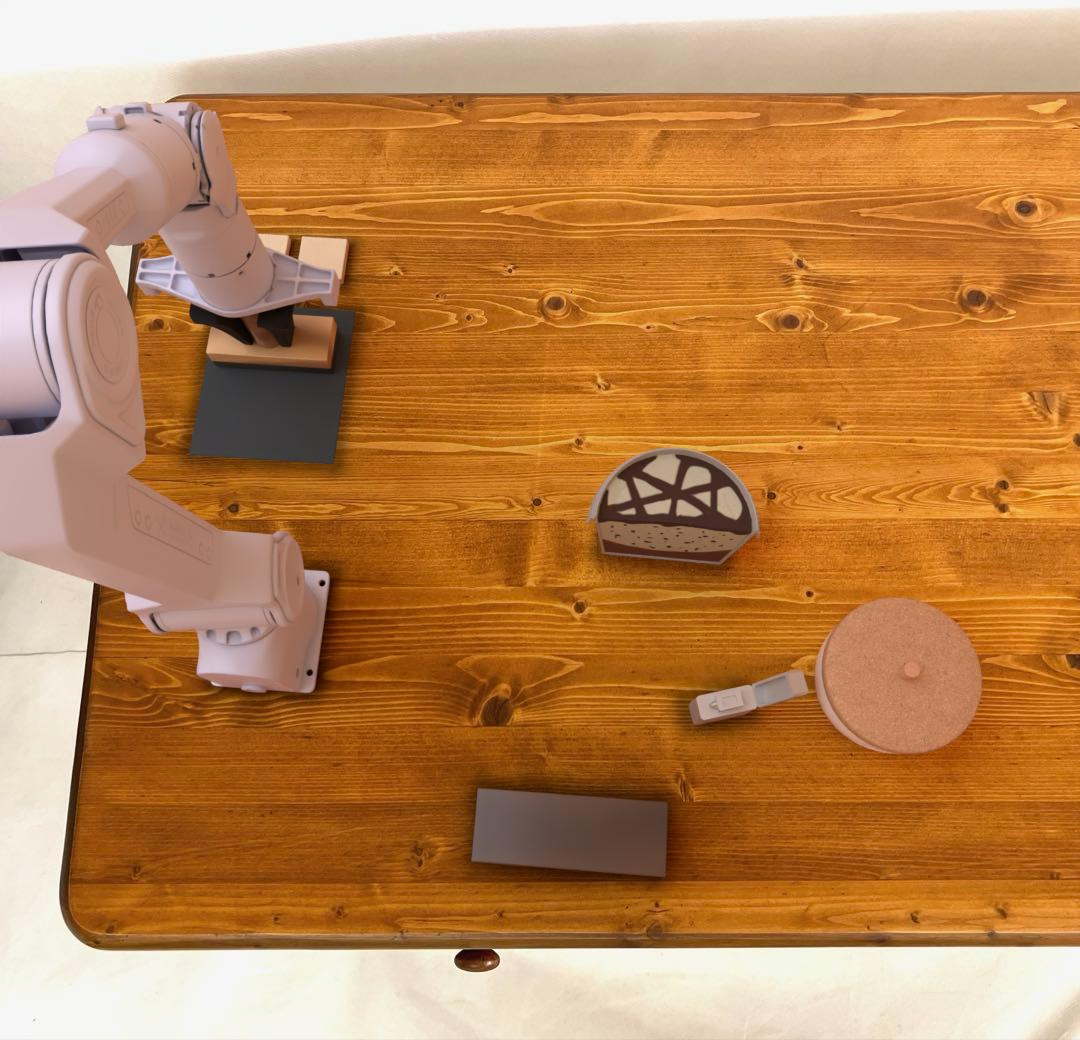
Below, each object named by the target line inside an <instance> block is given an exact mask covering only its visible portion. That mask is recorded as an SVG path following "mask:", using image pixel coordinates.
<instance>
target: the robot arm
mask: <svg viewBox="0 0 1080 1040" xmlns="http://www.w3.org/2000/svg"><path fill="white" fill-rule="evenodd" d="M85 123H86V127H87V132H85V133H83V134H81V135H79V136H77V137H75V138H74V139H72V140H71V141H70V142H68V143H67V144H66V145H65V146H64V147H63V148H62V150H61V151H60V153H59V155H58V156H57V158H56V161H55V164H54V169H53V177H52V178H49V179H47V180H45V181H42V182H40V183H37V184H35V185H32V186H29V187H28V188H25V189H23V190H20V191H18V192H16V193H12V194H11V195H8V196H6V197H3V198H1V199H0V552H2V553H3V554H4V555H5V554H6V555H7V556H9V557H13V558H15V559H19V560H22V561H25V562H28V563H31V564H34V565H37V566H41V567H44V568H47V569H50V570H53V571H56V572H60V573H62V574H66V575H69V576H72V577H75V578H78V579H81V580H84V581H87V582H91V583H94V584H97V585H99V586H104V587H106V588H110V589H113V590H117V591H119V592H122V593H124V600H125V603H126V610H127V611H128V612H129V613H133V614H135V615H138V618H139V619H140V621H141V623H143V624H144V626H145V628H147V629H148V630H149V632H150V633H152V634H155V635H165V634H167V633H169V632H183V631H184V632H185V631H195V632H196V635H197V639H198V659H197V664H196V665H197V666H196V676H197V677H199V678H201V679H203V680H207V681H209V682H210V683H211V685H213V686H214V687H221V688H234V689H235V688H236V689H241V690H242V691H245V692H249V693H250V692H251V693H261V694H262V693H263V694H264V693H267V691H274V692H289V693H290V692H291V693H301V694H302V693H304V694H310V693H312V692H314V690H315V689H316V684H317V676H318V669H319V662H320V654H321V647H322V641H323V634H324V626H325V619H326V612H327V604H328V597H329V591H330V583H331V576H330V575H331V574H330V573H329V572H328V571H325V570H316V569H305V567H304V565H305V564H304V560H303V559H304V558H303V554H302V551H301V548H300V544H299V543H298V541H297V540H296V539H295V538H294V537H293V536H292V535H291V534H290V532H288V531H286V530H277V531H276V532H274V533H263V532H261V533H260V532H248V531H236V530H224V529H220V528H218V527H216V526H215V525H213V524H211V523H210V522H209V521H207V520H205V519H203V518H201V517H200V516H199V515H196V514H195V513H193V512H191V511H190V510H188V509H186V507H183V506H182V505H180V504H179V503H176V502H175V501H173V500H171V499H170V498H168V497H167V496H165V495H163V494H161V493H160V492H158V491H156V490H155V489H153V488H151V487H150V486H148V485H147V484H145V483H144V482H142V481H140V480H138V479H137V478H135V477H134V476H132V475H130V474H128V473H129V472H130V471H132V470H134V468H136V467H137V466H139V465H140V464H141V463H143V462H144V461H145V460H146V459H147V450H146V440H145V437H146V431H147V430H146V429H147V425H146V414H145V407H144V406H145V405H144V399H143V398H144V397H143V390H142V381H141V373H140V364H139V338H138V332H137V331H138V330H137V326H136V321H135V317H134V313H133V310H132V307H131V303H130V300H129V298H128V295H127V293H126V292H125V289H124V286H123V285H122V284H121V281H120V279H119V275H118V273H117V270H116V268H115V267H114V264H113V263H112V260H111V259H110V256H109V255H108V253H107V249H109V247H110V246H117V247H130V246H134V245H135V246H136V245H138V244H142V243H144V242H146V241H147V240H149V239H151V238H152V237H153V236H155V235H156V234H157V233H158V235H159V236H160V238H161V240H162V241H163V242H164V244H165V246H166V247H167V248H168V249H169V251H170V252H171V254H170V255H166V256H161V257H154V258H140V259H139V263H138V267H137V271H136V276H135V282H134V283H136V285H137V286H138V287H139V289H140V290H141V291H142V292H143V294H144V295H145V296H153V297H154V296H159V295H160V294H161V292H163V293H165V294H167V295H170V296H173V297H175V298H177V299H180V300H181V301H185V302H187V303H189V310H188V315H189V318H190V319H191V321H192V323H194V324H196V325H203V326H207V327H210V328H211V327H213V328H216V329H219V330H221V331H223V332H225V333H227V334H228V335H230V336H232V337H233V338H235V339H236V340H238V341H240V342H241V343H243V344H245V345H253V341H254V339H253V337H252V336H251V334H250V333H249V331H248V329H247V328H246V326H245V325H244V323H243V322H242V320H241V318H240V317H244V316H248V315H252V314H256V313H258V319H257V327H258V328H264V329H266V330H268V331H269V332H271V333H272V334H273V336H274V337H275V339H276V340H277V342H278V343H279V345H281V346H282V347H291V346H292V341H293V335H294V329H295V325H294V320H293V311H294V307H295V304H299V303H303V302H306V301H311V300H317V299H318V300H319V299H320V301H321V302H322V304H323V305H324V306H326V307H337V306H338V301H339V295H340V289H341V284H340V281H339V279H338V276H337V274H336V271H335V270H334V269H324V268H320V267H316V266H313V265H310V264H307V263H305V262H303V261H300V260H298V258H295V257H292V256H290V255H289V256H288V255H285V254H283V253H280V252H278V251H275V250H273V249H270V248H268V247H265V246H264V245H263V243H262V241H261V239H260V237H259V235H258V234H259V233H258V231H257V228H256V227H255V226H254V223H253V221H252V220H251V217H250V215H249V213H248V212H247V210H246V208H245V205H244V204H243V202H242V200H241V198H240V196H239V194H238V192H237V189H238V179H237V176H236V171H235V167H234V165H233V163H232V161H231V158H230V157H229V153H228V148H227V144H226V140H225V135H224V131H223V128H222V125H221V121H220V119H219V117H218V114H217V112H216V110H213V111H212V110H211V109H205V110H203V108H202V107H201V106H199V103H198V102H196V101H175V102H173V101H172V102H159V103H149V102H148V101H133V102H132V101H131V102H127V103H125V104H121V105H113V106H111V107H109V108H106V107H102V106H101V105H97V107H96V108H95V109H94V111H93V114H92V115H91V116H88V117H86V118H85ZM322 582H324V583H325V584H324V585H323V586H321V583H322ZM309 671H311V672H312V674H311V675H308V672H309Z"/></svg>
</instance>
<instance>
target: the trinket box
mask: <svg viewBox="0 0 1080 1040" xmlns="http://www.w3.org/2000/svg"><path fill="white" fill-rule="evenodd" d="M813 677H814V679H813V680H814V688H815V693H816V697H817V700H818V703H819V705H820V707H821V710H822V711H823V713H824V715H825V717H826V718H827V719H828V721H829V722H830V723H831V724H832V726H833V727H834V728H835V729H836V730H837V731H838V732H839V733H841V734H842V735H843V736H844V737H846V738H847V739H848V740H850V741H852V742H853V743H855V744H857V745H859V746H861V747H864V748H865V749H868V750H872V751H875V752H879V753H882V754H883V753H884V754H891V755H892V754H893V755H919V754H920V755H921V754H924V753H929V752H933V751H937V750H939V749H941V748H943V747H946V746H948V745H949V744H951V743H952V742H954V741H955V740H956V739H958V738H959V737H960V736H961V735H962V734H963V733H964V732H965V731H966V730H967V729H968V727H969V726H970V725H971V723H972V722H973V720H974V718H975V716H976V714H977V712H978V710H979V706H980V703H981V700H982V693H983V674H982V668H981V663H980V660H979V657H978V655H977V651H976V649H975V647H974V646H973V643H972V641H971V639H970V638H969V637H968V635H967V633H966V632H965V631H964V629H963V628H962V627H961V626H960V625H959V624H958V623H957V622H956V621H955V620H954V619H953V618H951V616H949V615H948V614H947V613H945V612H944V611H942V610H940V609H939V608H937V607H935V606H934V605H932V604H929V603H928V602H927V603H926V602H925V601H922V600H918V599H914V598H911V597H900V596H887V597H881V598H877V599H876V598H875V599H872V600H869V601H867V602H864V603H862V604H860V605H858V606H857V607H856V608H854V609H852V610H851V611H849V612H848V613H847V614H846V615H844V616H843V617H842V618H841V619H840V620H839V622H838V623H837V624H836V625H835V626H834V627H833V628H832V629H831V630H830V632H829V633H828V634H827V635H826V637H825V639H824V641H822V644H821V646H820V648H819V650H818V653H817V655H816V661H815V666H814V676H813Z"/></svg>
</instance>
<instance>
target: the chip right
mask: <svg viewBox="0 0 1080 1040" xmlns="http://www.w3.org/2000/svg"><path fill="white" fill-rule="evenodd" d="M349 248H350V243H349V241H348V238H337V237H321V236H302V237H301V241H300V247H299V253H298V258H297V259H298V260H300V261H303V262H305V263H307V264H310V265H313V266H316V267H320V268H324V269H334V270H335V271H336V274H337V276H338V279H339V281H340V285H344V282H345V275H346V268H347V263H348V262H347V261H348V256H349Z"/></svg>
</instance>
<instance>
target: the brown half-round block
mask: <svg viewBox="0 0 1080 1040" xmlns="http://www.w3.org/2000/svg"><path fill="white" fill-rule="evenodd" d="M589 506H590V507H589V509H588V513H587V519H586V524H588V525H589V524H590V523H591V522H592V521H593V520H594V522H595V527H596V531H597V535H598V536H597V537H598V541H599V546H600V550H601V554H602V555H610V556H621V557H632V558H643V559H652V560H663V561H664V560H665V561H674V562H683V563H684V562H686V563H696V564H706V565H717V566H718V565H719V566H720V565H721V566H722V564H723V563H725V562H726V561H727V560H728V559H729V558H730V557H731V556H732V555H734V553H736V551H738V550H739V549H740V548H741V547H742V546H743V545H745V544H746V543H747V542H748V541H749V540H750V539H751V538H752V537H754V536H755V534H756V539H757V540H760V539H761V532H760V520H759V515H758V510H757V506H756V504H755V501H754V498H753V496H752V495H751V493H750V490H749V489H748V488H747V485H746V484H745V483H744V482H743V480H742V479H741V478H740V477H739V475H737V473H735V472H734V471H733V470H732V469H731V468H730V467H729V466H728V465H726V464H725V463H723V462H722V461H720V460H719V459H717V458H715V457H713V456H711V455H709V454H707V453H704V452H701V451H699V450H695V449H690V448H685V447H669V446H667V447H662V448H661V447H660V448H659V447H658V448H653V449H650V450H647V451H643V452H640V453H638V454H636V455H634V456H632V457H630V458H628V459H626V460H625V461H624V462H623V463H621V464H620V465H618V466H617V467H616V468H615V469H614V470H613V471H612V472H611V473H610V474H609V475H608V476H607V477H606V478H605V479H604V481H603V482H602V483H601V485H600V486H599V487H598V489H597V491H596V493H595V494H594V496H593V497H592V501H591V503H590V505H589Z"/></svg>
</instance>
